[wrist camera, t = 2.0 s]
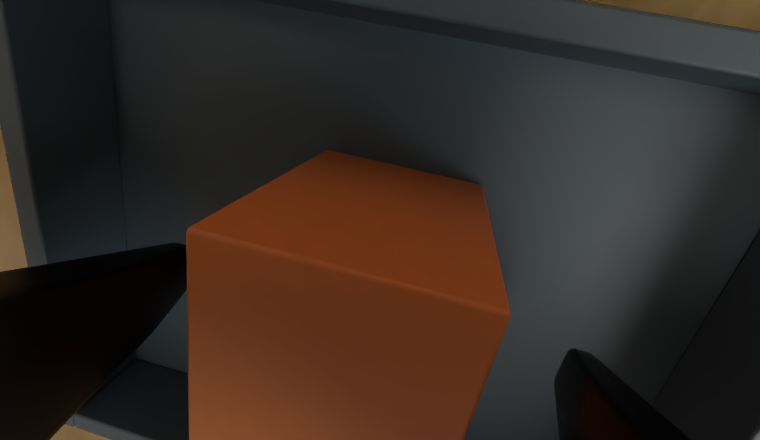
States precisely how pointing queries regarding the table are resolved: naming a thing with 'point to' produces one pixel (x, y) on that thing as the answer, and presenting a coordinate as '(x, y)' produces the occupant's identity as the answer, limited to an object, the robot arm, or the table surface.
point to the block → (343, 306)
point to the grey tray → (424, 153)
